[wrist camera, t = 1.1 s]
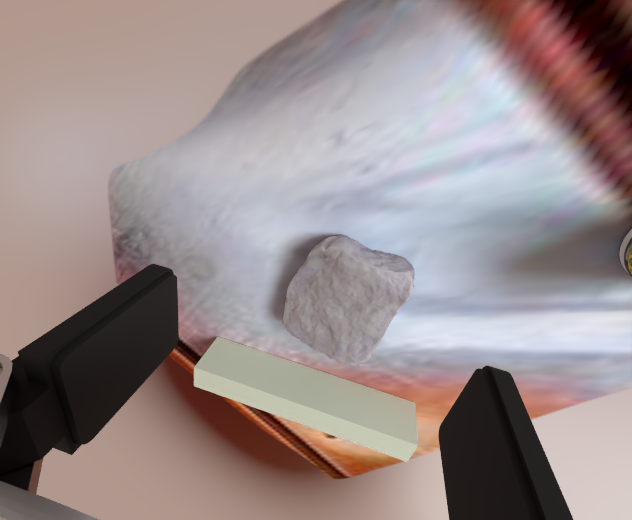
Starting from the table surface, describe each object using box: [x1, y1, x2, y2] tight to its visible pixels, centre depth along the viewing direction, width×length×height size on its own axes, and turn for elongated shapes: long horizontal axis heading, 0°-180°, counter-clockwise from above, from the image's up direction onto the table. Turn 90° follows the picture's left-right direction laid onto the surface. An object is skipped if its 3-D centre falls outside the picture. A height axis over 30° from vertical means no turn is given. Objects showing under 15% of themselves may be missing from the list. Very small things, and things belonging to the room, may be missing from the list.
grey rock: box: [283, 235, 414, 366], centre depth 29 cm, size 12×5×10 cm
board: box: [194, 337, 418, 462], centre depth 35 cm, size 3×24×5 cm, turn 78°
